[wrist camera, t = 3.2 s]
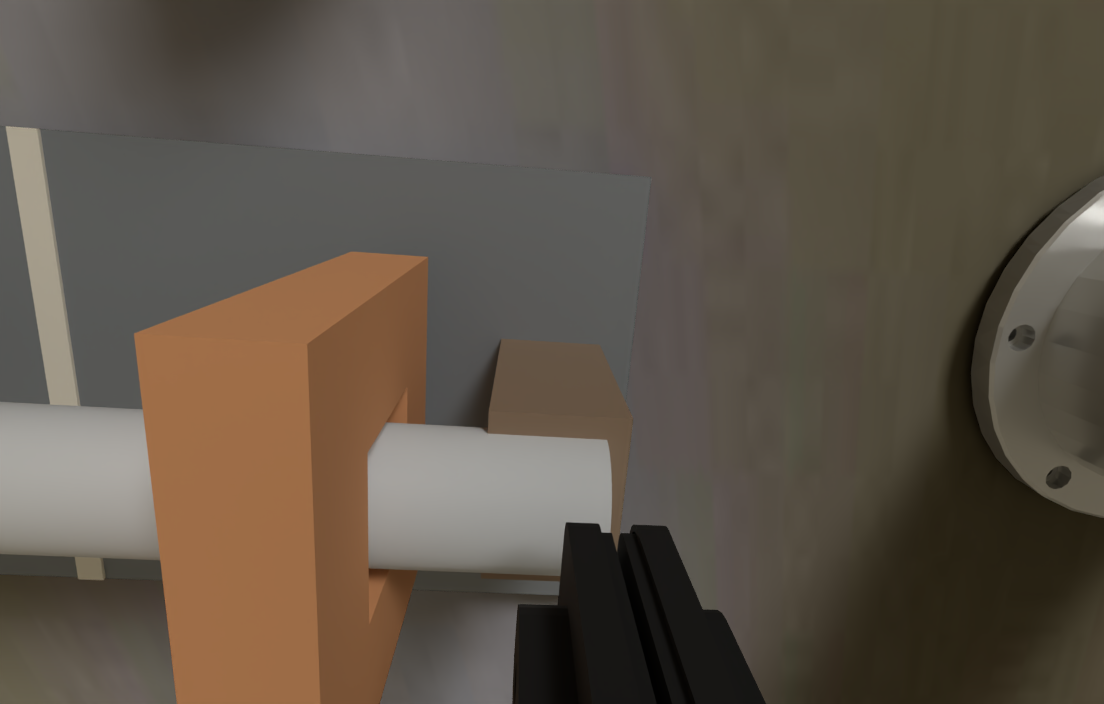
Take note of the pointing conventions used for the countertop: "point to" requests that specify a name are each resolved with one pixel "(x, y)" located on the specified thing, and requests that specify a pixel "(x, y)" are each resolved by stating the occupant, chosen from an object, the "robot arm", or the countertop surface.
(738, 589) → the countertop surface
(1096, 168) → the countertop surface
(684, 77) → the countertop surface
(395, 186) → the pipe stand
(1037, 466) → the robot arm
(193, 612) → the orange square ring
